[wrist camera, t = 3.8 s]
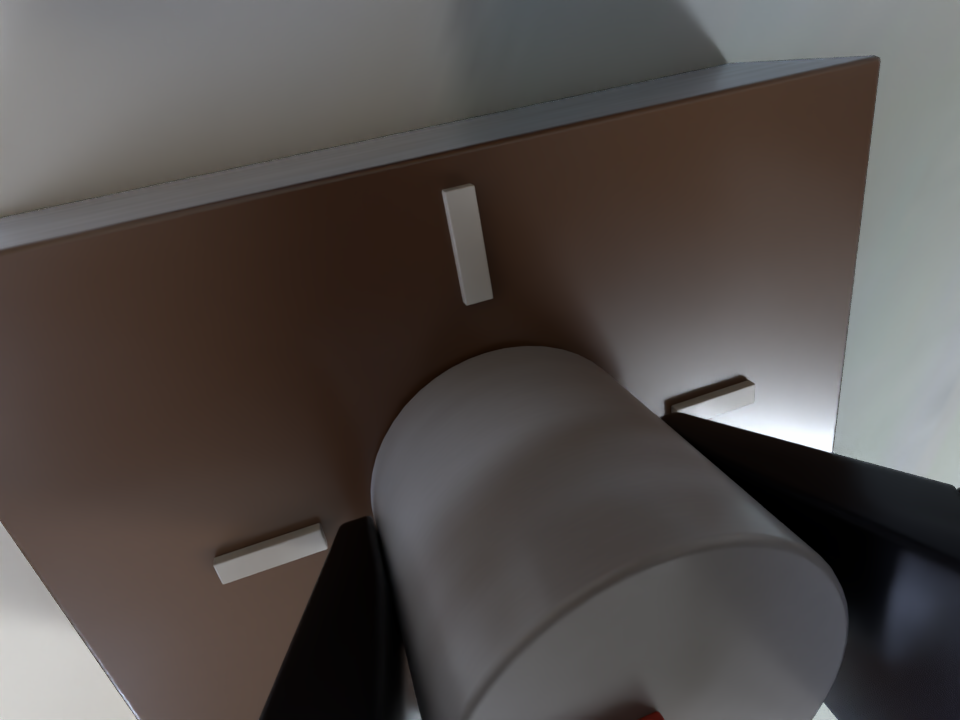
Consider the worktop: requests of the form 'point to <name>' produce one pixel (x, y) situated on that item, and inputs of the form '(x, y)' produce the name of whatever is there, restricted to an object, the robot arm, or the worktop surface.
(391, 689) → the robot arm
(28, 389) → the panel
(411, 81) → the worktop surface
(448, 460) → the knob
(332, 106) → the worktop surface
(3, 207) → the worktop surface
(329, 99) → the worktop surface
